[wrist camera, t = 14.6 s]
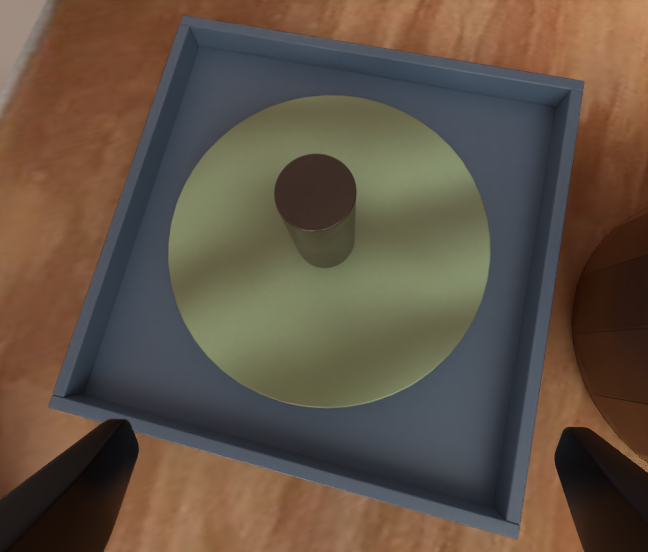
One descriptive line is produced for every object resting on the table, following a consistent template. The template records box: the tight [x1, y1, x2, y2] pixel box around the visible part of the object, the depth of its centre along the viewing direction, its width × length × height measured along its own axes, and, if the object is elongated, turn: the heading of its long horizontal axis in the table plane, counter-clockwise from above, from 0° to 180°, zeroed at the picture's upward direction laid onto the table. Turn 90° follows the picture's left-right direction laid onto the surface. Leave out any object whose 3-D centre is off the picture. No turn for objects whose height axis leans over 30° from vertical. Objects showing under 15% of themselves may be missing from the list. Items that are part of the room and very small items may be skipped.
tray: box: [48, 15, 584, 539], centre depth 20 cm, size 21×21×2 cm
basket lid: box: [168, 95, 490, 408], centre depth 17 cm, size 16×16×7 cm
